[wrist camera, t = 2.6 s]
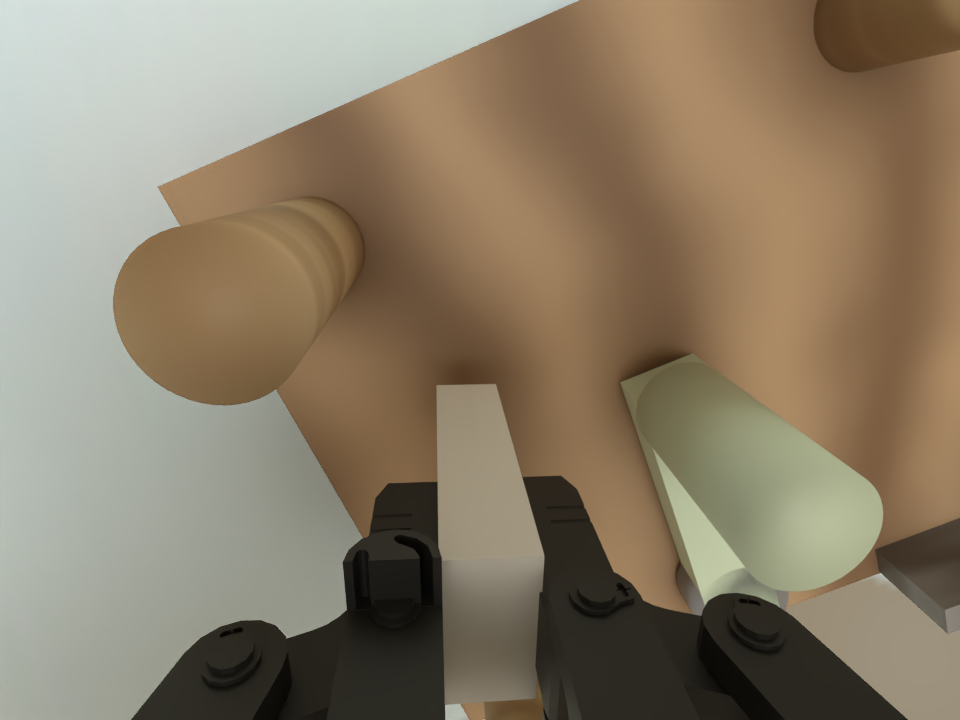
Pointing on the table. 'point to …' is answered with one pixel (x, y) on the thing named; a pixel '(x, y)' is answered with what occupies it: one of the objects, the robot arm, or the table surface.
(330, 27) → the table surface
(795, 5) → the stool seat
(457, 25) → the table surface
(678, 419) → the hinged leg
